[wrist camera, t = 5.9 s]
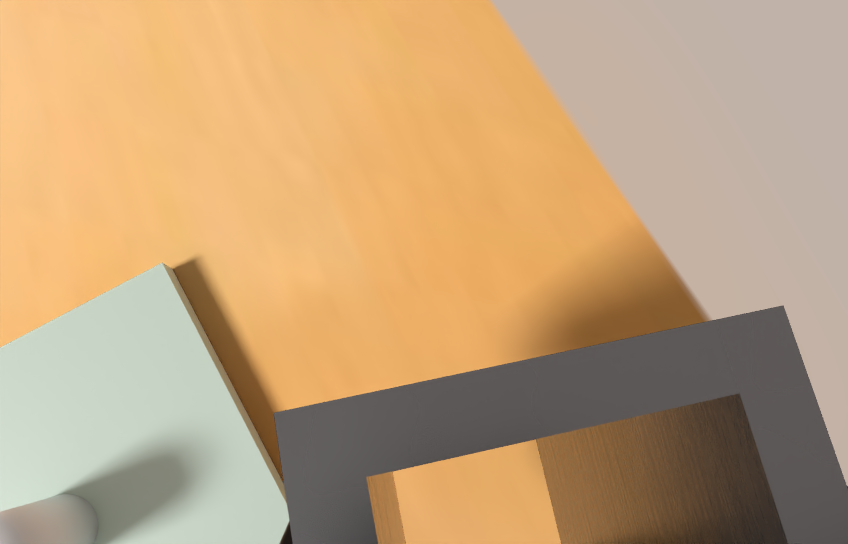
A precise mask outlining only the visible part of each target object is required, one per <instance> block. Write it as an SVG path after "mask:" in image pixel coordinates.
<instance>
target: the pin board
mask: <svg viewBox="0 0 848 544" xmlns="http://www.w3.org/2000/svg"><path fill="white" fill-rule="evenodd" d="M288 522H289V515H288V508H287V501H286V494H285V487H284V483H283V481H282V479H281V477H280V476H279V474H278V472H277V470H276V468H275V466H274V464H273V462H272V460H271V458H270V456H269V454H268V452H267V450H266V449H265V447H264V445H263V443H262V441H261V439H260V437H259V435H258V433H257V431H256V429H255V427H254V425H253V424H252V422H251V420H250V418H249V416H248V414H247V412H246V410H245V408H244V406H243V404H242V402H241V400H240V399H239V397H238V395H237V393H236V391H235V389H234V387H233V385H232V383H231V381H230V379H229V377H228V375H227V373H226V372H225V370H224V368H223V366H222V364H221V362H220V360H219V358H218V356H217V354H216V352H215V350H214V348H213V347H212V345H211V343H210V341H209V339H208V337H207V335H206V333H205V331H204V329H203V327H202V325H201V323H200V321H199V320H198V318H197V316H196V314H195V312H194V310H193V308H192V306H191V304H190V302H189V300H188V298H187V296H186V295H185V293H184V291H183V289H182V287H181V285H180V283H179V281H178V279H177V277H176V275H175V273H174V271H173V270H172V268H170V267H168V266H167V265H165V264H163V263H161V264H159V265H157V266H155V267H153V268H151V269H149V270H147V271H145V272H144V273H142V274H140V275H138V276H136V277H134V278H132V279H130V280H128V281H126V282H124V283H123V284H121V285H119V286H117V287H115V288H113V289H111V290H109V291H107V292H105V293H103V294H102V295H100V296H98V297H96V298H94V299H92V300H90V301H88V302H86V303H84V304H82V305H81V306H79V307H77V308H75V309H73V310H71V311H69V312H67V313H65V314H63V315H62V316H60V317H58V318H56V319H54V320H52V321H50V322H48V323H46V324H44V325H42V326H41V327H39V328H37V329H35V330H33V331H31V332H29V333H27V334H25V335H23V336H21V337H20V338H18V339H16V340H14V341H12V342H10V343H8V344H6V345H4V346H2V347H0V544H279V543H280V541H281V539H282V536H283V534H284V532H285V529H286V527H287V525H288Z"/></svg>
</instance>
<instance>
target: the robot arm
mask: <svg viewBox="0 0 848 544" xmlns="http://www.w3.org/2000/svg"><path fill="white" fill-rule="evenodd" d="M847 488H848V486H847ZM279 544H293V542H292V535H291V528H290V521H289V522H288V525H287V527H286V529H285V532H284V534H283V536H282V539H281V541H280V543H279Z"/></svg>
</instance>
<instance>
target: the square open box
mask: <svg viewBox="0 0 848 544" xmlns="http://www.w3.org/2000/svg"><path fill="white" fill-rule="evenodd" d="M274 419H275V425H276V432H277V439H278V446H279V453H280V460H281V467H282V473H283V480H284V487H285V494H286V501H287V508H288V515H289V521H290V528H291V535H292V542H293V544H406V542H405V536H404V531H403V526H402V520H401V515H400V510H399V504H398V499H397V493H396V488H395V483H394V477H393V472H392V471H396V470H401V469H405V468H410V467H414V466H419V465H423V464H428V463H432V462H436V461H441V460H445V459H450V458H454V457H459V456H463V455H468V454H472V453H476V452H481V451H485V450H490V449H494V448H499V447H503V446H508V445H512V444H517V443H521V442H525V441H530V440H534V439H536V441H537V445H538V449H539V454H540V458H541V462H542V466H543V470H544V474H545V478H546V482H547V487H548V491H549V495H550V499H551V503H552V507H553V511H554V515H555V520H556V524H557V528H558V532H559V536H560V540H561V544H848V488H847V485H846V482H845V480H844V477H843V474H842V471H841V468H840V465H839V463H838V460H837V457H836V454H835V451H834V448H833V445H832V443H831V440H830V437H829V434H828V431H827V428H826V426H825V423H824V420H823V417H822V414H821V411H820V409H819V406H818V403H817V400H816V397H815V394H814V392H813V389H812V386H811V383H810V380H809V377H808V374H807V372H806V369H805V366H804V363H803V360H802V357H801V354H800V352H799V349H798V346H797V343H796V340H795V338H794V335H793V332H792V329H791V326H790V323H789V320H788V317H787V315H786V312H785V309H784V306H779V307H774V308H770V309H765V310H760V311H755V312H751V313H746V314H741V315H736V316H732V317H727V318H722V319H717V320H712V321H708V322H703V323H698V324H693V325H689V326H684V327H679V328H674V329H670V330H665V331H660V332H655V333H651V334H646V335H641V336H636V337H632V338H627V339H622V340H617V341H613V342H608V343H603V344H598V345H594V346H589V347H584V348H580V349H575V350H570V351H565V352H561V353H556V354H551V355H546V356H542V357H537V358H532V359H527V360H523V361H518V362H513V363H508V364H504V365H499V366H494V367H489V368H485V369H480V370H475V371H470V372H466V373H461V374H456V375H451V376H447V377H442V378H437V379H432V380H428V381H423V382H418V383H413V384H409V385H404V386H399V387H394V388H390V389H385V390H380V391H375V392H371V393H366V394H361V395H356V396H352V397H347V398H342V399H337V400H333V401H328V402H323V403H319V404H314V405H309V406H304V407H300V408H295V409H290V410H285V411H281V412H276V413H274Z"/></svg>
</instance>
